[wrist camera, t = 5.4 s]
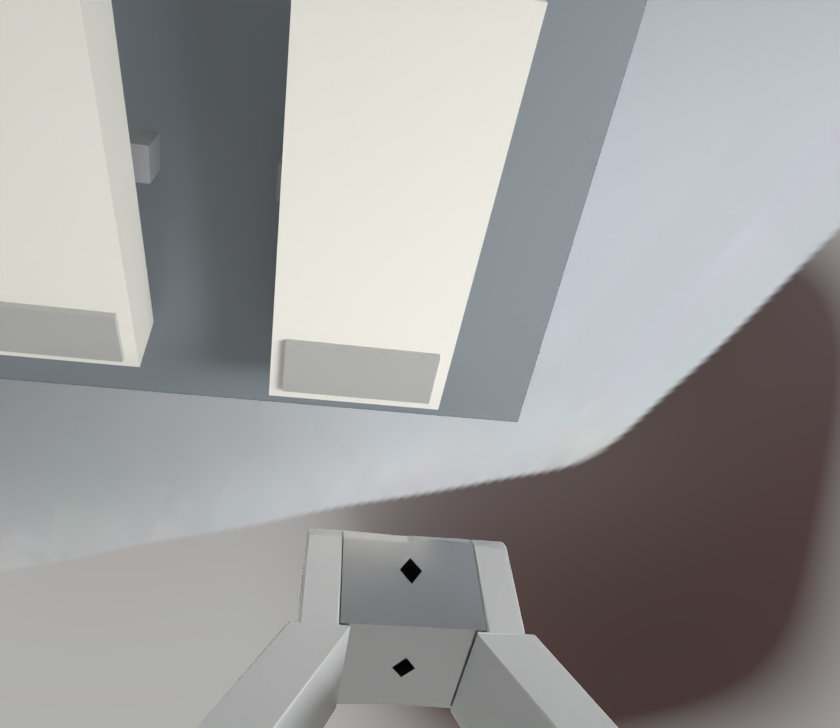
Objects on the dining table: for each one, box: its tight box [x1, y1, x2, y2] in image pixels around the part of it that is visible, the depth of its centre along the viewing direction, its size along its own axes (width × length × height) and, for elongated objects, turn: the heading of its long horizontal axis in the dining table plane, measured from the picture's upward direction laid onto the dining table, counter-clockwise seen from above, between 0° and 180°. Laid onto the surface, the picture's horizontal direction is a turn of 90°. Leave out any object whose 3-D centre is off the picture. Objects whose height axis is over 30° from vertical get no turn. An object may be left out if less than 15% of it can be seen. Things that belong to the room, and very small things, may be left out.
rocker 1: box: [0, 0, 154, 367], centre depth 13 cm, size 4×9×2 cm, turn 170°
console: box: [0, 0, 647, 422], centre depth 16 cm, size 24×13×6 cm, turn 80°
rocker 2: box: [269, 0, 548, 410], centre depth 14 cm, size 4×9×2 cm, turn 170°
